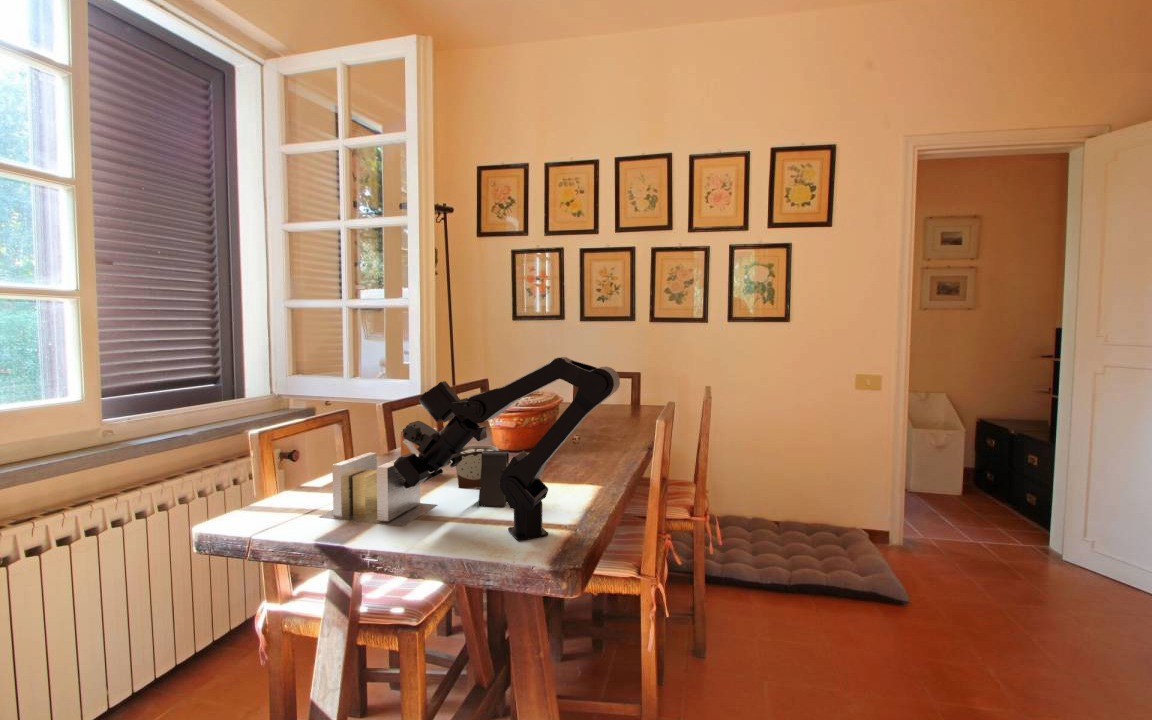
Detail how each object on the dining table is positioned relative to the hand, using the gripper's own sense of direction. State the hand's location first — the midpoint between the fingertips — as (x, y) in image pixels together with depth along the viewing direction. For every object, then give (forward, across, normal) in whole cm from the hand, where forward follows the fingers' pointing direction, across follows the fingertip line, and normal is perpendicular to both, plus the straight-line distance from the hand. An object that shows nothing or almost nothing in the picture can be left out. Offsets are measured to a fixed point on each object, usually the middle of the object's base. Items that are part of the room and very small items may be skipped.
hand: (405, 486), depth 115 cm
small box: (+17, -33, -6) cm, 38 cm away
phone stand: (-4, -18, +14) cm, 23 cm away
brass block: (+11, 0, -2) cm, 11 cm away
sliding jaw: (+5, 0, +3) cm, 6 cm away
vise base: (+10, 0, +1) cm, 10 cm away
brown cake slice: (+4, -28, +7) cm, 30 cm away
